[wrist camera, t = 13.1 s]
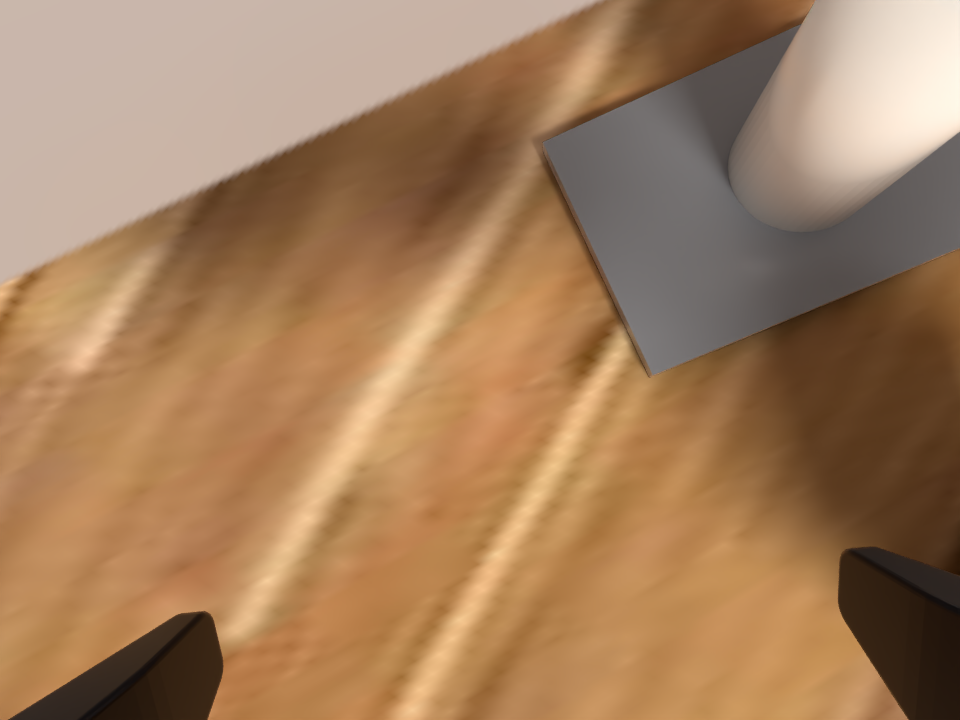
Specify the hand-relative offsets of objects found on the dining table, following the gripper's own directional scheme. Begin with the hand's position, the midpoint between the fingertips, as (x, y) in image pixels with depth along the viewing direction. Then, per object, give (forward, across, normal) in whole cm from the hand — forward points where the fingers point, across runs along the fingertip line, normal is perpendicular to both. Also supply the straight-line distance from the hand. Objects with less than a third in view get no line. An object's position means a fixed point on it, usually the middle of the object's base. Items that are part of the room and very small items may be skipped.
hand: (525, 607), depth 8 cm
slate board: (+15, -12, -6) cm, 20 cm away
